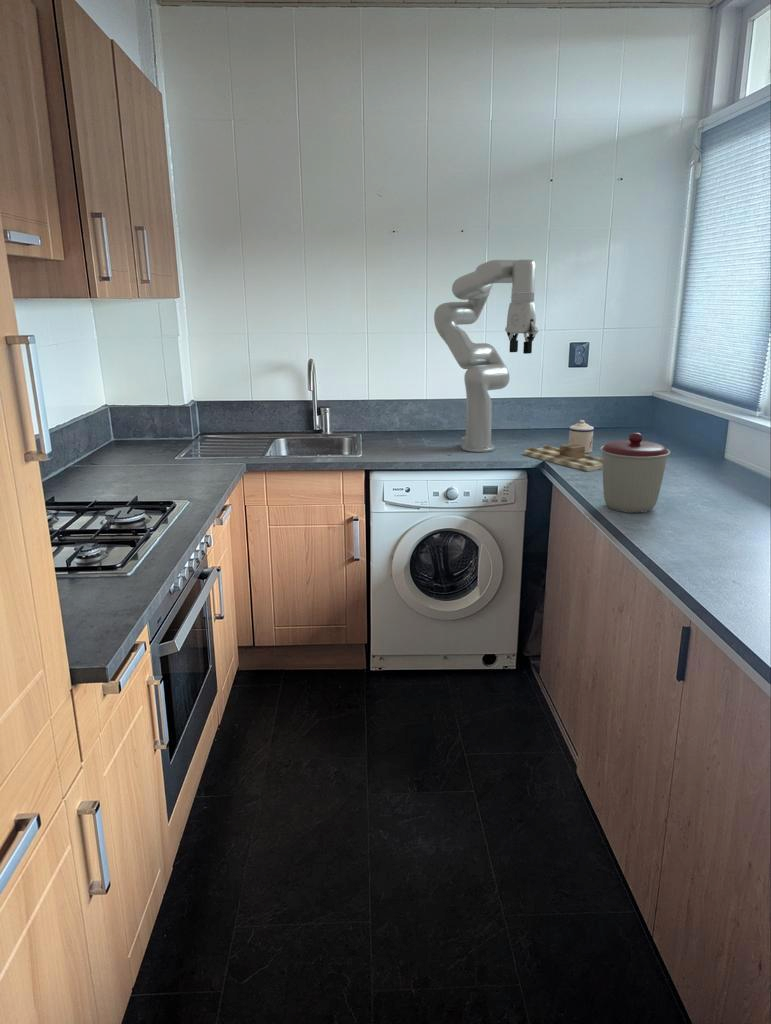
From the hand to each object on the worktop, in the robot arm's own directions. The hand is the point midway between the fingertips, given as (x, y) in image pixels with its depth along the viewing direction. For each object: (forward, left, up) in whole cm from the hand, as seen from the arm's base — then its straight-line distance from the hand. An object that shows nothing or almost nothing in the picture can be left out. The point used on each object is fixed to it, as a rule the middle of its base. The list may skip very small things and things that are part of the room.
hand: (520, 352), depth 250 cm
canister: (+64, -14, -38) cm, 76 cm away
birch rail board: (+11, +14, -38) cm, 42 cm away
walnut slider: (+13, +14, -36) cm, 41 cm away
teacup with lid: (+1, +30, -38) cm, 48 cm away
